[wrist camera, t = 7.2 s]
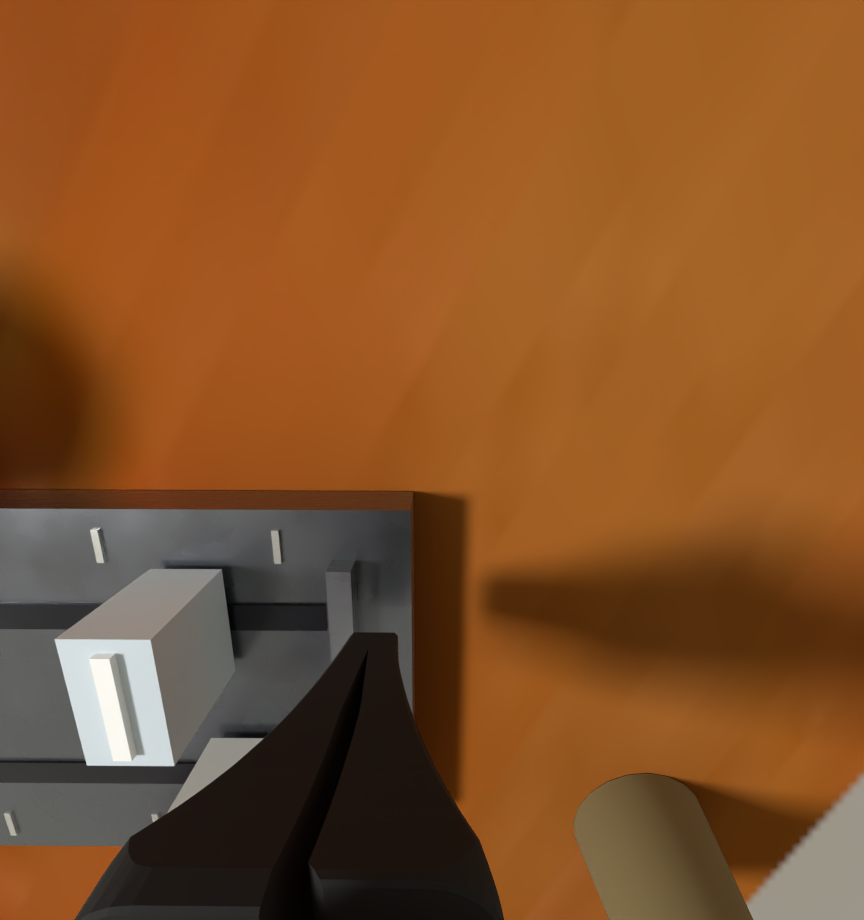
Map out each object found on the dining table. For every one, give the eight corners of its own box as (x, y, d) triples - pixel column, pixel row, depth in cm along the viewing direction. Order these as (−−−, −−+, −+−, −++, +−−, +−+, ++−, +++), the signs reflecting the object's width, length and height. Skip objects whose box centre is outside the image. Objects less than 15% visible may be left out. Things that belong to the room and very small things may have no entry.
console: (415, 797, 19) (412, 871, 16) (-34, 794, 19) (-112, 867, 16) (413, 491, 15) (409, 519, 12) (-142, 488, 15) (-266, 516, 13)
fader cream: (284, 818, 16) (241, 950, 13) (223, 818, 16) (163, 950, 13) (275, 738, 15) (225, 855, 12) (211, 738, 15) (141, 855, 12)
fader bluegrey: (235, 670, 14) (169, 773, 11) (168, 670, 14) (80, 772, 11) (221, 569, 13) (144, 645, 10) (150, 568, 13) (47, 644, 10)
